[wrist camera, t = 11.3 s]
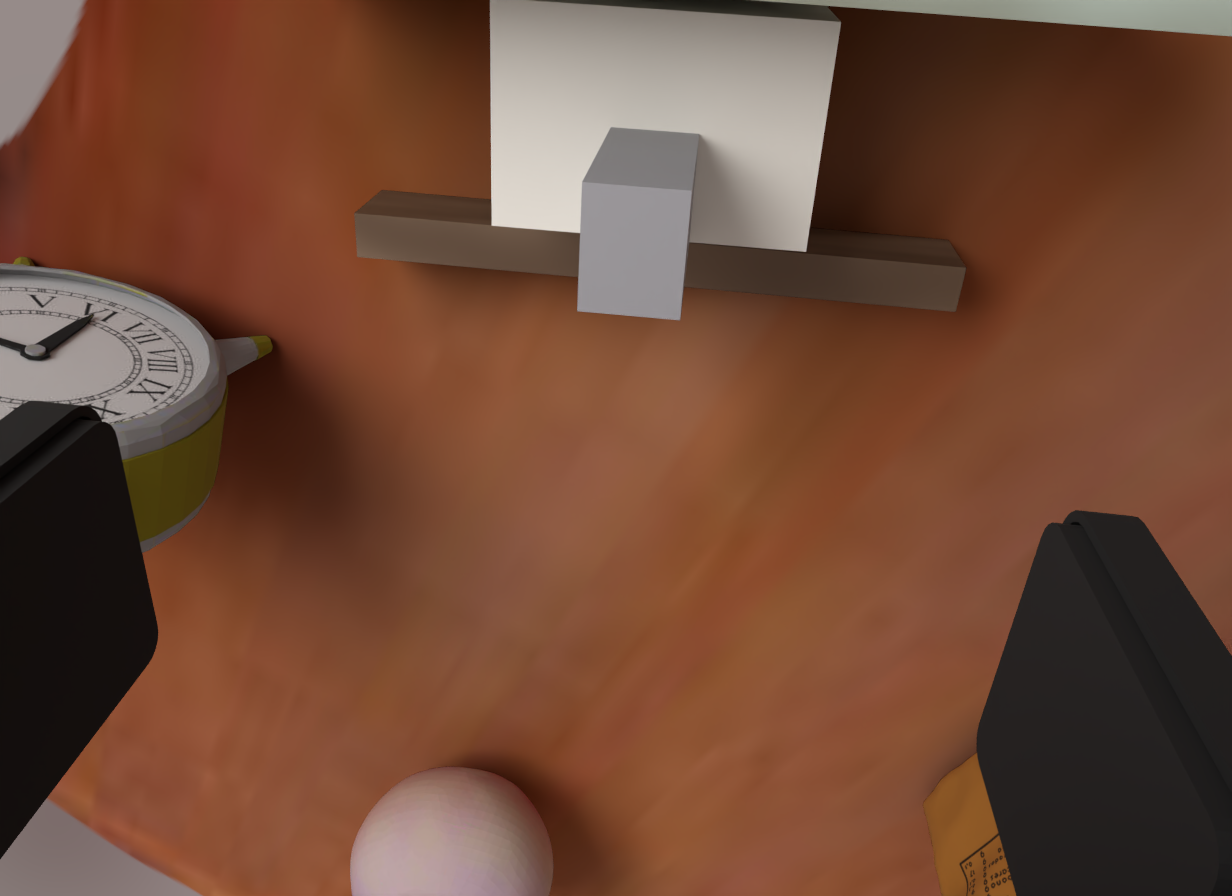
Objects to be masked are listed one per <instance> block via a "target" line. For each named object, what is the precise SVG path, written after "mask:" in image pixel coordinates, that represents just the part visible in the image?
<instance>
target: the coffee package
mask: <svg viewBox="0 0 1232 896" xmlns="http://www.w3.org/2000/svg"><path fill="white" fill-rule="evenodd" d="M923 808H924V813H925V816H926V819H927V823H928V829H929V834H930V837H931V842H932V846H933V852H934V864H935V868H936V871H937V875H938V879H939V885H940V890H941V894H942V896H1016V893H1015V889H1014V886H1013V882H1012V879H1011V875H1010V872H1009V868H1008V865H1007V861H1006V858H1005V854H1004V851H1003V847H1002V844H1001V840H1000V837H999V833H998V830H997V826H996V823H995V819H994V816H993V812H992V809H991V805H990V802H989V798H988V795H987V791H986V788H985V784H984V781H983V777H982V774H981V770H980V767H979V762H978V758H977V752H976V753H975V754H974V755H973V756H972V757H970V758H969V759H967V760H966V761H965V762H964V763H963V764H962V765H960V766H959V767H957V768H955V769H954V770H952V771H951V772H949V773H948V774H947V775H946V776H945V777H943V778H942V779H941V780H940V782H939V783H938V785H937V786H936V788H935V789H934V790H933V792H932V793H931V794H930V795H929V796H928V798H927V799H926V800H925V801H924V803H923Z"/></svg>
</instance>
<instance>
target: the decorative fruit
mask: <svg viewBox="0 0 1232 896" xmlns="http://www.w3.org/2000/svg"><path fill="white" fill-rule="evenodd" d="M553 867H554V865H553V852H552V847H551V842H550V839H549V835H548V832H547V829H546V827H545V825H544V823H543V821H542V819H541V817H540V815H539V813H538V812H537V810H536V808H535V807H534V805H533V804H532V803H531V801H530V800H529V799H528V797H527V796H526V795H525V794H524V793H523V791H521V790H520V789H519V788H518V787H517V786H516V785H515V784H513V783H512V782H510V781H509V780H507V779H505V778H503V777H502V776H499V775H497V774H494V773H491V772H488V771H484V770H479V769H473V768H465V767H438V768H433V769H429V770H425V771H422V772H419V773H416V774H413V775H411V776H409V777H407V778H406V779H404V780H402V781H401V782H399V783H398V784H397V785H395V786H394V787H393V788H392V789H391V790H389V791H388V792H387V793H386V794H385V795H384V796H383V797H382V798H381V799H380V800H379V801H378V802H377V803H376V805H375V806H374V807H373V809H372V810H371V811H370V813H369V814H368V816H367V817H366V819H365V820H364V822H363V824H362V826H361V828H360V830H359V832H358V834H357V836H356V839H355V842H354V845H353V849H352V854H351V866H350V876H351V888H352V896H549V893H550V889H551V884H552V879H553Z"/></svg>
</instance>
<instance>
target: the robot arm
mask: <svg viewBox="0 0 1232 896" xmlns="http://www.w3.org/2000/svg"><path fill="white" fill-rule="evenodd" d="M157 640H158V626H157V621H156V616H155V611H154V607H153V602H152V597H151V593H150V588H149V583H148V579H147V574H146V569H145V565H144V560H143V555H142V551H141V546H140V541H139V537H138V532H137V527H136V523H135V518H134V513H133V509H132V504H131V499H130V495H129V490H128V485H127V481H126V476H125V471H124V466H123V462H122V457H121V452H120V448H119V443H118V438H117V435H116V432H115V430H114V429H113V427H112V426H111V425H110V424H108V423H107V422H102V420H101V417H100V416H99V414H98V413H97V412H96V410H94V409H92V408H91V407H89V406H83V405H73V404H64V403H54V402H45V401H28V402H26V403H24V404H22V405H20V406H19V407H17V408H16V409H15V410H13V411H12V412H10V413H9V414H8V415H6V416H5V417H3V418H2V419H1V420H0V859H1V857H2V856H3V855H4V854H5V852H6V851H7V850H8V848H9V847H10V846H11V844H12V843H13V842H14V840H15V839H16V838H17V836H18V835H19V834H20V832H21V831H22V830H23V829H24V827H25V826H26V824H27V823H28V822H29V820H30V819H31V818H32V817H33V815H34V814H35V813H36V811H37V810H38V809H39V807H40V806H41V805H42V803H43V802H44V801H45V800H46V798H47V797H48V796H49V794H50V793H51V792H52V790H53V789H54V788H55V786H56V785H57V784H58V782H59V781H60V780H61V778H62V777H63V776H64V774H65V773H66V772H67V771H68V769H69V768H70V767H71V765H72V764H73V763H74V761H75V760H76V759H77V757H78V756H79V755H80V753H81V752H82V751H83V749H84V748H85V747H86V745H87V744H88V743H89V742H90V740H91V739H92V738H93V736H94V735H95V734H96V732H97V731H98V730H99V728H100V727H101V726H102V724H103V723H104V722H105V720H106V719H107V718H108V716H109V715H110V714H111V712H112V711H113V710H114V709H115V707H116V706H117V705H118V703H119V702H120V701H121V699H122V698H123V697H124V695H125V694H126V693H127V691H128V690H129V689H130V687H131V686H132V685H133V683H134V682H135V681H136V680H137V678H138V677H139V676H140V674H141V673H142V672H143V670H144V669H145V668H146V666H147V665H148V664H149V662H150V660H151V659H152V657H153V654H154V652H155V649H156V645H157ZM977 758H978V762H979V767H980V770H981V774H982V777H983V781H984V784H985V788H986V791H987V795H988V798H989V802H990V805H991V809H992V812H993V816H994V819H995V823H996V826H997V830H998V833H999V837H1000V840H1001V844H1002V847H1003V851H1004V854H1005V858H1006V861H1007V865H1008V868H1009V872H1010V875H1011V879H1012V882H1013V886H1014V889H1015V893H1016V896H1232V656H1231V654H1230V653H1229V651H1228V650H1227V648H1226V647H1225V645H1224V644H1223V642H1222V641H1221V639H1220V638H1219V636H1218V635H1217V633H1216V632H1215V630H1214V629H1213V627H1212V625H1211V624H1210V622H1209V621H1208V619H1207V618H1206V616H1205V615H1204V613H1203V612H1202V610H1201V609H1200V607H1199V606H1198V604H1197V603H1196V601H1195V600H1194V598H1193V597H1192V595H1191V594H1190V592H1189V591H1188V589H1187V588H1186V586H1185V584H1184V583H1183V581H1182V580H1181V578H1180V577H1179V575H1178V574H1177V572H1176V571H1175V569H1174V568H1173V566H1172V565H1171V563H1170V562H1169V560H1168V559H1167V557H1166V556H1165V554H1164V553H1163V551H1162V550H1161V548H1160V546H1159V545H1158V543H1157V542H1156V540H1155V539H1154V537H1153V536H1152V534H1151V533H1150V531H1149V530H1148V528H1147V527H1146V525H1145V524H1144V523H1143V522H1142V521H1141V520H1140V519H1139V518H1138V517H1134V516H1126V515H1116V514H1107V513H1097V512H1088V511H1079V510H1075V511H1073V512H1071V513H1070V514H1069V515H1068V516H1067V517H1066V519H1065V520H1064V522H1063V524H1061V523H1051V524H1049V525H1048V526H1047V527H1046V528H1045V530H1044V532H1043V535H1042V537H1041V540H1040V543H1039V546H1038V549H1037V552H1036V555H1035V558H1034V561H1033V564H1032V567H1031V570H1030V573H1029V576H1028V579H1027V582H1026V585H1025V588H1024V591H1023V594H1022V597H1021V600H1020V603H1019V606H1018V609H1017V612H1016V615H1015V618H1014V621H1013V624H1012V627H1011V630H1010V633H1009V636H1008V639H1007V642H1006V645H1005V648H1004V651H1003V654H1002V657H1001V660H1000V663H999V666H998V669H997V672H996V675H995V678H994V681H993V684H992V687H991V690H990V693H989V696H988V699H987V702H986V705H985V708H984V711H983V714H982V717H981V720H980V723H979V727H978V732H977Z"/></svg>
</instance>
